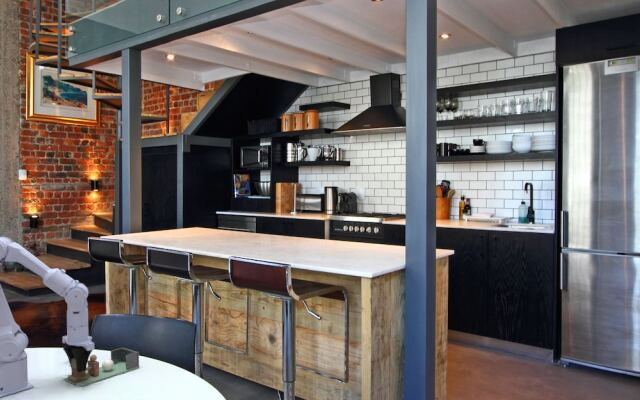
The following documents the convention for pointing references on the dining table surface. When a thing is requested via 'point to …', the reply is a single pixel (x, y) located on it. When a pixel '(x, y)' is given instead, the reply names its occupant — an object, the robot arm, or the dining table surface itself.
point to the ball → (107, 365)
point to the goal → (125, 357)
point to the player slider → (92, 370)
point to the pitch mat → (103, 374)
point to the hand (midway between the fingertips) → (78, 370)
